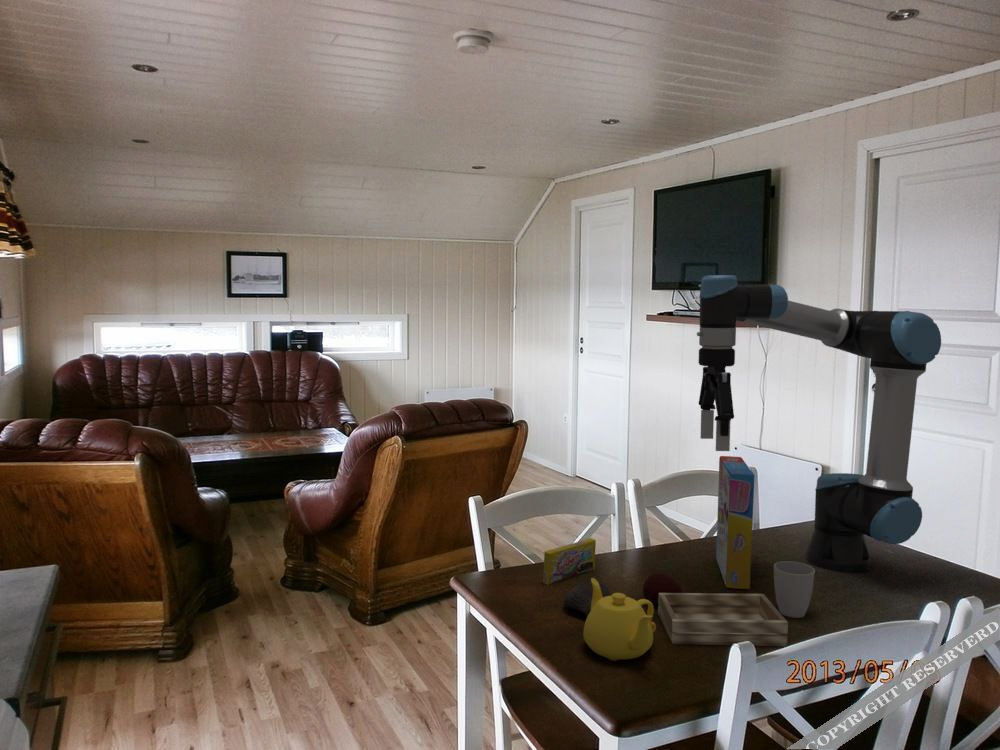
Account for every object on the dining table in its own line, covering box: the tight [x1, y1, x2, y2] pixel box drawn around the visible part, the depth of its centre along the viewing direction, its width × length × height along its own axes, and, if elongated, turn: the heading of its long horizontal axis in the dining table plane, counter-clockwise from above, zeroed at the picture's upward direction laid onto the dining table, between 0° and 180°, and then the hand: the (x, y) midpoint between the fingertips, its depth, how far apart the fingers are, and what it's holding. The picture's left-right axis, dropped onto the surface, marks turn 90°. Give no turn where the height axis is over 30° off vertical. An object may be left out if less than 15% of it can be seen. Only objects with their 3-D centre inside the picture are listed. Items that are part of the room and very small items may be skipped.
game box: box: [715, 455, 755, 590], centre depth 181 cm, size 21×6×27 cm, turn 170°
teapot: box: [582, 577, 657, 662], centre depth 141 cm, size 20×15×12 cm
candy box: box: [542, 537, 597, 586], centre depth 178 cm, size 16×2×8 cm, turn 131°
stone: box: [563, 578, 612, 618], centre depth 158 cm, size 10×8×10 cm
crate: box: [657, 592, 789, 647], centre depth 150 cm, size 22×14×5 cm, turn 89°
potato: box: [642, 572, 683, 606], centre depth 163 cm, size 7×8×7 cm
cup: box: [773, 560, 816, 619], centre depth 159 cm, size 8×8×10 cm
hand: (714, 444), depth 163 cm, fingers open, 13 cm apart
